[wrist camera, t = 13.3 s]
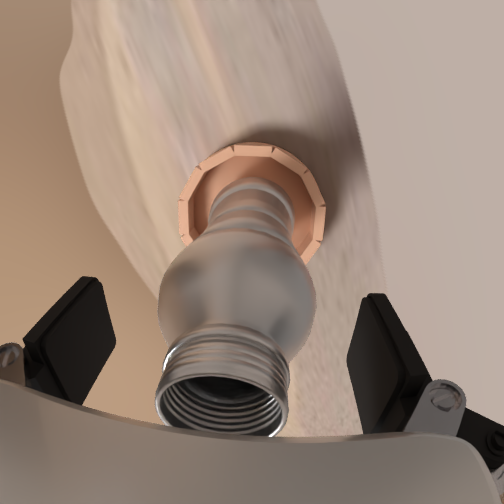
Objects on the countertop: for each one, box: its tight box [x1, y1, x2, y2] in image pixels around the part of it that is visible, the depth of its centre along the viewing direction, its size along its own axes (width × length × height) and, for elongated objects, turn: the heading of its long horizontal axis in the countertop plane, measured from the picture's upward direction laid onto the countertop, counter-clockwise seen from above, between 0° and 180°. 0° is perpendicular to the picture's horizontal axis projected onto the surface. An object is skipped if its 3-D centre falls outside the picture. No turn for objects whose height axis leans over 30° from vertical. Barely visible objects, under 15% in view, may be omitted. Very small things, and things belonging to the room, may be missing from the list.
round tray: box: [178, 142, 326, 265], centre depth 25 cm, size 12×12×3 cm
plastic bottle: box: [155, 177, 316, 437], centre depth 16 cm, size 6×7×20 cm
